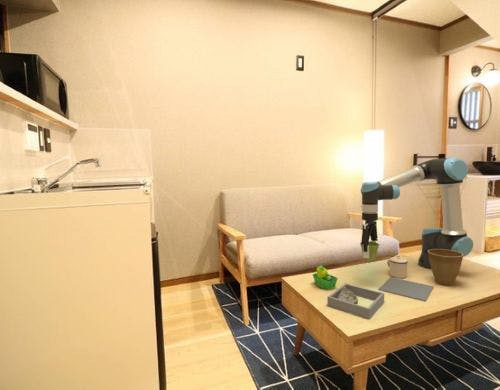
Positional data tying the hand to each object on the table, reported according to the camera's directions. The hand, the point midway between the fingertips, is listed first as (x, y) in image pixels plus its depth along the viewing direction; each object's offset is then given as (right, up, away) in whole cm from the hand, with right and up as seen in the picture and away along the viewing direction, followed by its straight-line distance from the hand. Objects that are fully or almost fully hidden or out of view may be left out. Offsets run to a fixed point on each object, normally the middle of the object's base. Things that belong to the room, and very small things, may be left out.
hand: (369, 255), depth 145 cm
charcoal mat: (+16, -15, -6) cm, 23 cm away
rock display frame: (-15, -17, -20) cm, 30 cm away
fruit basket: (-24, -16, 0) cm, 28 cm away
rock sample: (-19, -18, -20) cm, 33 cm away
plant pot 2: (+39, -14, 0) cm, 41 cm away
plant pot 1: (0, -3, 0) cm, 3 cm away
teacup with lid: (+20, -14, +13) cm, 28 cm away
